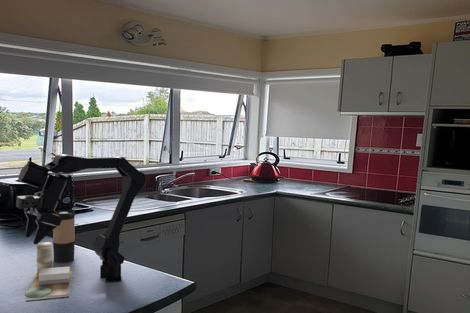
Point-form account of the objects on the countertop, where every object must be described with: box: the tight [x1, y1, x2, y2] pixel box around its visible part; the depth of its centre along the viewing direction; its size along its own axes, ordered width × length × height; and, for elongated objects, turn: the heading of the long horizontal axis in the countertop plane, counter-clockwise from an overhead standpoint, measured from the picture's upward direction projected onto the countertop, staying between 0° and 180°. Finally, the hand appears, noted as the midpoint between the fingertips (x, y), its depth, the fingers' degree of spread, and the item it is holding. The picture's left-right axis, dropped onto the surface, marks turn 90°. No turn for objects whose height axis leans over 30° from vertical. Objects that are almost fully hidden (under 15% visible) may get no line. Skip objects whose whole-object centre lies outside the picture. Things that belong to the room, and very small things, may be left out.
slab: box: [39, 266, 71, 286], centre depth 135 cm, size 9×6×4 cm, turn 108°
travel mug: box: [52, 209, 76, 264], centre depth 157 cm, size 8×8×20 cm
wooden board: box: [25, 269, 74, 303], centre depth 135 cm, size 13×22×2 cm, turn 18°
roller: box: [36, 241, 53, 278], centre depth 141 cm, size 5×5×11 cm
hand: (30, 240), depth 125 cm, fingers open, 9 cm apart
